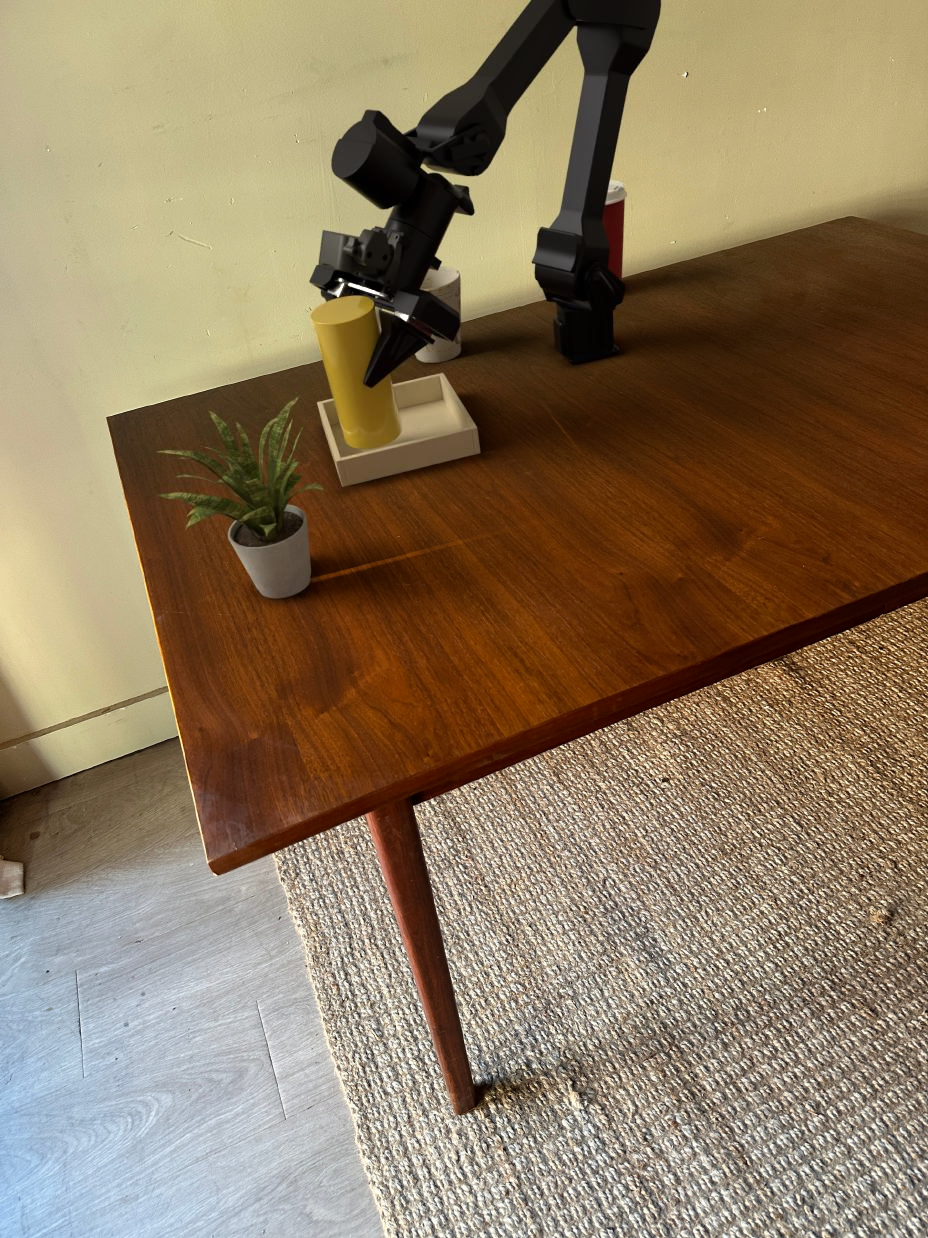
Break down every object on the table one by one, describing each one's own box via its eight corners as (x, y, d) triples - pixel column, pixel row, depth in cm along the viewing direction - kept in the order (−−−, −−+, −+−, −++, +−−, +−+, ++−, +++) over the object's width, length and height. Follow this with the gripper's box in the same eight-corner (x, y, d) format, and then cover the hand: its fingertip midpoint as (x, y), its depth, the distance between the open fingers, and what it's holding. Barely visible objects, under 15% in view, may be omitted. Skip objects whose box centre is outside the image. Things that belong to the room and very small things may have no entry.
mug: (462, 366, 117) (452, 288, 111) (369, 369, 120) (354, 293, 114) (475, 339, 123) (465, 263, 117) (386, 343, 126) (372, 269, 120)
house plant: (265, 522, 94) (217, 372, 83) (384, 538, 89) (349, 380, 78) (182, 608, 84) (117, 450, 74) (311, 631, 79) (260, 465, 69)
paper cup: (637, 283, 131) (636, 178, 123) (614, 303, 127) (611, 196, 118) (588, 279, 135) (583, 177, 126) (564, 298, 130) (557, 194, 122)
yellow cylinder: (395, 412, 102) (367, 289, 93) (408, 438, 97) (379, 312, 88) (340, 427, 102) (306, 305, 92) (349, 455, 97) (315, 329, 88)
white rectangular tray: (447, 399, 110) (443, 372, 108) (481, 456, 98) (477, 427, 96) (323, 429, 108) (316, 401, 106) (343, 490, 97) (335, 461, 94)
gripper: (302, 179, 92) (239, 325, 94) (417, 202, 80) (342, 368, 82) (379, 236, 100) (320, 368, 103) (493, 264, 89) (424, 413, 91)
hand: (348, 377), depth 94 cm, fingers closed on yellow cylinder, 6 cm apart
